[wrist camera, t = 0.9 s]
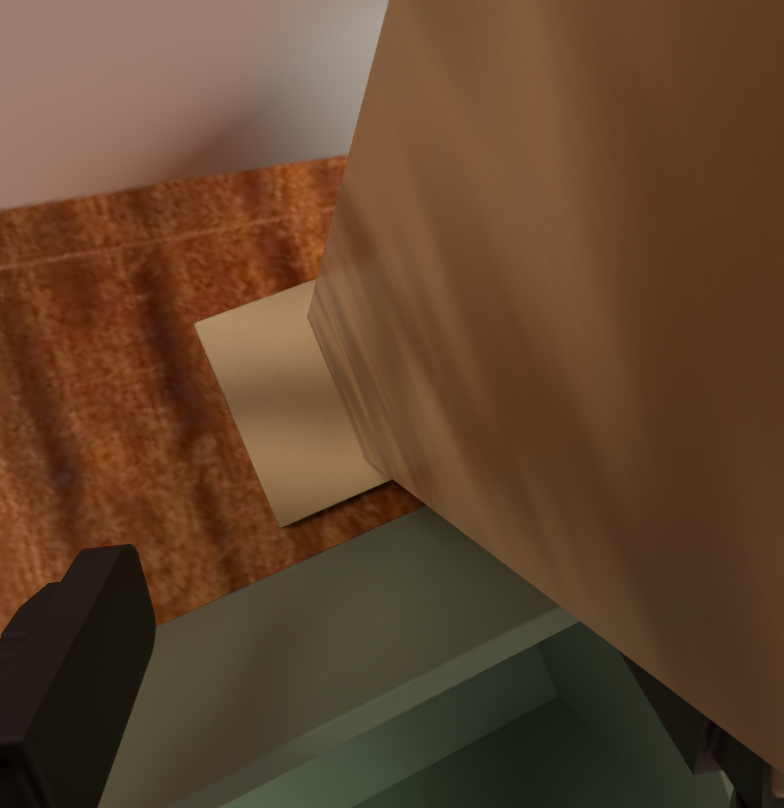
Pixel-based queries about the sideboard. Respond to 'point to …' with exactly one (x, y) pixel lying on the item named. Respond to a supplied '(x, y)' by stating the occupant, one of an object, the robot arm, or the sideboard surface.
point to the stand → (559, 322)
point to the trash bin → (395, 693)
